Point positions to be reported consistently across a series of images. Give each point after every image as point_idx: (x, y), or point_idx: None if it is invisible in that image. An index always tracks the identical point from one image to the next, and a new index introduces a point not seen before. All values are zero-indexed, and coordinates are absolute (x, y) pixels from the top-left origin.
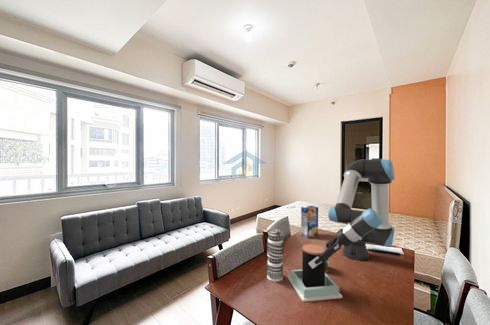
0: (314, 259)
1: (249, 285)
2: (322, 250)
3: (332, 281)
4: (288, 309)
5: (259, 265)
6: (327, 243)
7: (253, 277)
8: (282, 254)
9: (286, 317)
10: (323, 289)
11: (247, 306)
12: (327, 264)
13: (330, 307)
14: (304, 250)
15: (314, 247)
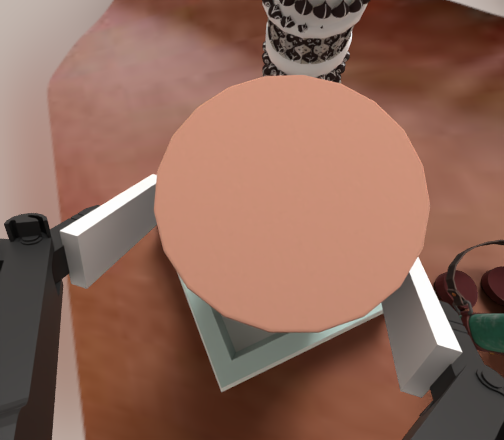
0: (108, 204)
1: (210, 27)
2: (257, 294)
3: (268, 356)
4: (106, 164)
5: (369, 25)
6: (490, 408)
7: (266, 27)
8: (330, 28)
9: (67, 161)
10: (188, 295)
11: (100, 49)
12: (492, 353)
13: (144, 319)
14: (219, 98)
15: (326, 198)
